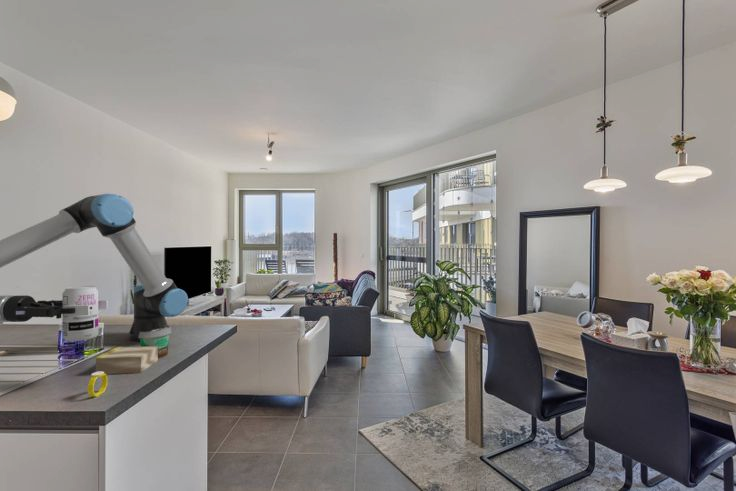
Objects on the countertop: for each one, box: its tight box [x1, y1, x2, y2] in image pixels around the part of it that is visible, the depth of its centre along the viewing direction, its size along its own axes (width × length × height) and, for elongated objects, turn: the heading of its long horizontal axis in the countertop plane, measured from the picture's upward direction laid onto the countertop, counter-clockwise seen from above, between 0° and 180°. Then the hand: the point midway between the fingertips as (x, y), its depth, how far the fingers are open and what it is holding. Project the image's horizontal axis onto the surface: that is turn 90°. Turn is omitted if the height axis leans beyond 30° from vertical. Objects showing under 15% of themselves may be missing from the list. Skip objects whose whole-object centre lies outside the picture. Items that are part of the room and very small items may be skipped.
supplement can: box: [61, 285, 99, 342], centre depth 105 cm, size 8×8×15 cm
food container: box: [138, 324, 172, 359], centre depth 129 cm, size 12×6×10 cm, turn 168°
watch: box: [87, 371, 109, 398], centre depth 96 cm, size 6×3×6 cm, turn 4°
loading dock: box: [95, 346, 159, 375], centre depth 117 cm, size 12×13×5 cm
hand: (98, 307), depth 106 cm, fingers closed on supplement can, 8 cm apart
